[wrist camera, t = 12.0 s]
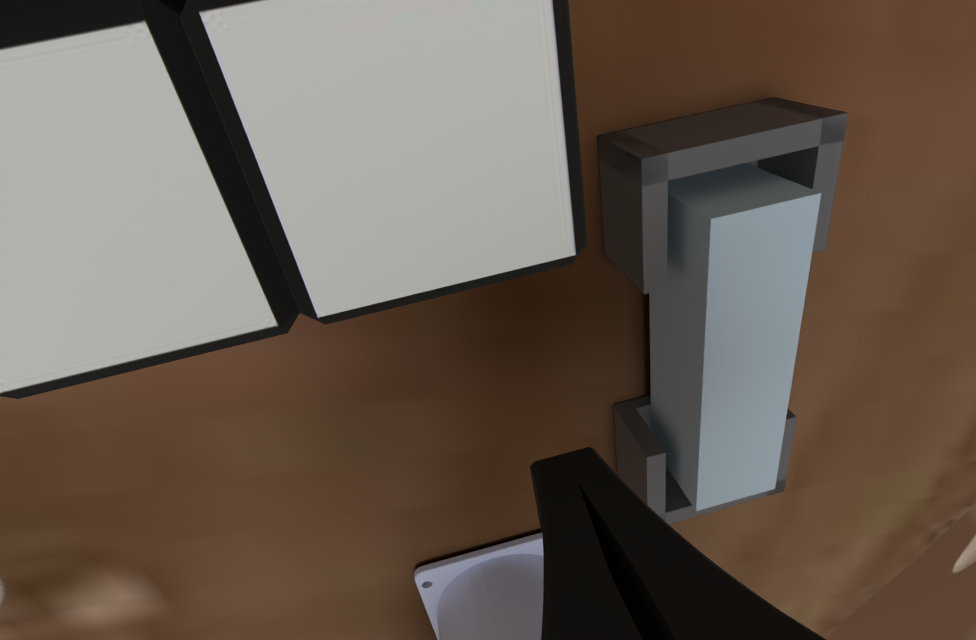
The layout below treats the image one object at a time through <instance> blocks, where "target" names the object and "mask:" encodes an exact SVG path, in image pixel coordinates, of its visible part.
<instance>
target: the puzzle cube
mask: <svg viewBox="0 0 976 640" xmlns="http://www.w3.org/2000/svg"><path fill="white" fill-rule="evenodd" d="M586 245H587V232H586V219H585V207H584V194H583V182H582V169H581V157H580V144H579V131H578V119H577V106H576V94H575V81H574V68H573V56H572V43H571V31H570V18H569V6H568V0H0V396H2V397H9V398H16V399H19V398H23V397H28V396H32V395H36V394H40V393H44V392H48V391H52V390H56V389H60V388H64V387H68V386H73V385H77V384H81V383H85V382H89V381H93V380H97V379H101V378H105V377H109V376H114V375H118V374H122V373H126V372H130V371H134V370H138V369H142V368H146V367H150V366H154V365H159V364H163V363H167V362H171V361H175V360H179V359H183V358H187V357H191V356H195V355H199V354H204V353H208V352H212V351H216V350H220V349H224V348H228V347H232V346H236V345H240V344H244V343H249V342H253V341H257V340H261V339H265V338H269V337H273V336H277V335H281V334H285V333H288V331H289V330H290V328H291V326H292V325H293V323H294V321H295V320H296V318H297V316H298V315H299V313H301V314H304V315H306V316H308V317H310V318H312V319H315V320H317V321H319V322H321V323H323V324H329V323H333V322H337V321H342V320H346V319H350V318H354V317H358V316H362V315H366V314H370V313H374V312H378V311H382V310H387V309H391V308H395V307H399V306H403V305H407V304H411V303H415V302H419V301H423V300H427V299H432V298H436V297H440V296H444V295H448V294H452V293H456V292H460V291H464V290H468V289H472V288H477V287H481V286H485V285H489V284H493V283H497V282H501V281H505V280H509V279H513V278H517V277H522V276H526V275H530V274H534V273H538V272H542V271H546V270H550V269H554V268H558V267H562V266H567V265H571V264H572V263H573V262H574V260H575V259H576V258H577V256H578V255H579V254H580V253H581V251H582V250H583V249H584V247H585V246H586Z"/></svg>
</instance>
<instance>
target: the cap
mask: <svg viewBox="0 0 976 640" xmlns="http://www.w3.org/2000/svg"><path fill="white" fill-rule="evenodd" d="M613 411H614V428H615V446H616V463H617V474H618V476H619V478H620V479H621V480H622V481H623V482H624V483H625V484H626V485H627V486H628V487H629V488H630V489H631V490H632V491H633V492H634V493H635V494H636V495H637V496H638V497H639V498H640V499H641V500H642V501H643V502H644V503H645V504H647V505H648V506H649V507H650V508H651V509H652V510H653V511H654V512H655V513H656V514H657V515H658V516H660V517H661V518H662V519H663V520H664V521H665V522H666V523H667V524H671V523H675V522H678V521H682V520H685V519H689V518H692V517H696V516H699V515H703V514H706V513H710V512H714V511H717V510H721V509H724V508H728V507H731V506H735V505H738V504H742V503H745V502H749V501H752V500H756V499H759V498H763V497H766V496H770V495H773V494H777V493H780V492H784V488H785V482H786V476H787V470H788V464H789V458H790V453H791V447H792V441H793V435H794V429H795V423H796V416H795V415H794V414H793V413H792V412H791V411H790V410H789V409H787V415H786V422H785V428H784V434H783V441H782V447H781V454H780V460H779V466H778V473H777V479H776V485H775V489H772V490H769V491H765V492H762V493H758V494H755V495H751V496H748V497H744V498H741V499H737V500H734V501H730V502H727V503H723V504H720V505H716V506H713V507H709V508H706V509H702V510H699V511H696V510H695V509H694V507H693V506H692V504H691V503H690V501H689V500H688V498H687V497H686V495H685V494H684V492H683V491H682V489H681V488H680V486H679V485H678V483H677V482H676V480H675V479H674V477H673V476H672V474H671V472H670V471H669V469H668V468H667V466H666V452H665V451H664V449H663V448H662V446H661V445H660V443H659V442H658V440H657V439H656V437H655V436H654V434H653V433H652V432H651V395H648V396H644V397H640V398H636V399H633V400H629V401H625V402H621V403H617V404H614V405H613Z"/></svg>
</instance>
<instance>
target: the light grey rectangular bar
mask: <svg viewBox="0 0 976 640" xmlns="http://www.w3.org/2000/svg"><path fill="white" fill-rule="evenodd" d="M820 199H821V193H820V192H818V191H815V190H813V189H810V188H807V187H805V186H802V185H800V184H797V183H795V182H792V181H790V180H787V179H785V178H782V177H780V176H777V175H775V174H772V173H769V172H767V171H764V170H762V169H759V168H757V167H754V166H752V165H749V164H747V163H743V164H738V165H734V166H730V167H725V168H721V169H716V170H712V171H708V172H703V173H699V174H695V175H690V176H686V177H682V178H677V179H673V180H668V229H667V289H664V290H660V291H656V292H651V293H649V300H650V385H651V432H652V433H653V434H654V436H655V437H656V439H657V440H658V442H659V443H660V445H661V446H662V448H663V449H664V451H665V452H666V466H667V468H668V469H669V471H670V472H671V474H672V476H673V477H674V479H675V480H676V482H677V483H678V485H679V486H680V488H681V489H682V491H683V492H684V494H685V495H686V497H687V498H688V500H689V501H690V503H691V504H692V506H693V507H694V509H695V510H696V511H699V510H702V509H706V508H709V507H713V506H716V505H720V504H723V503H727V502H730V501H734V500H737V499H741V498H744V497H748V496H751V495H755V494H758V493H762V492H765V491H769V490H772V489H775V485H776V479H777V473H778V466H779V460H780V454H781V447H782V441H783V434H784V428H785V422H786V415H787V409H788V403H789V396H790V390H791V383H792V377H793V371H794V364H795V358H796V352H797V345H798V339H799V332H800V326H801V320H802V313H803V307H804V301H805V294H806V288H807V282H808V275H809V269H810V262H811V256H812V250H813V243H814V237H815V231H816V224H817V218H818V211H819V205H820Z"/></svg>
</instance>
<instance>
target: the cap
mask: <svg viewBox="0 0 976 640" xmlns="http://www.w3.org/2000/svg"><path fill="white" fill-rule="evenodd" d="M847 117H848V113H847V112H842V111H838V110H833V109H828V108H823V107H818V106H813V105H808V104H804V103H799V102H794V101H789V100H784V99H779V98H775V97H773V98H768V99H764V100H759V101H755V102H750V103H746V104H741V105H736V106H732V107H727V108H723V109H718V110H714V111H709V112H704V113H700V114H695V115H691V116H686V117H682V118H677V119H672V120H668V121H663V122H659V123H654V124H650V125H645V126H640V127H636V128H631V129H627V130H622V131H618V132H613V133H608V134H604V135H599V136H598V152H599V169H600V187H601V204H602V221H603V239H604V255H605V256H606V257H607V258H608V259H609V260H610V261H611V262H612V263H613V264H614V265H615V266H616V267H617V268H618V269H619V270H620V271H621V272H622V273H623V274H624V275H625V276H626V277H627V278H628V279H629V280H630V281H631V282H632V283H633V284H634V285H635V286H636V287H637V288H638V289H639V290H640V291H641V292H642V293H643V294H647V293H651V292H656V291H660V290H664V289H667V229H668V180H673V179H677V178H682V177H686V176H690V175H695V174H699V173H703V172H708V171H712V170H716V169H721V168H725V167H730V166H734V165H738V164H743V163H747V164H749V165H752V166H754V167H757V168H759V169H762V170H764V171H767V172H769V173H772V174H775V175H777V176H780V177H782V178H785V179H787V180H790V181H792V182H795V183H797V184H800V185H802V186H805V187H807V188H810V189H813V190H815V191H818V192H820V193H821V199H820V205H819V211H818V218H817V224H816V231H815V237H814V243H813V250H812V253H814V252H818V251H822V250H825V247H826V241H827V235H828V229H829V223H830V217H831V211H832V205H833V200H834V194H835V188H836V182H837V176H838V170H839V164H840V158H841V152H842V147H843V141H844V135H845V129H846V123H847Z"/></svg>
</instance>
